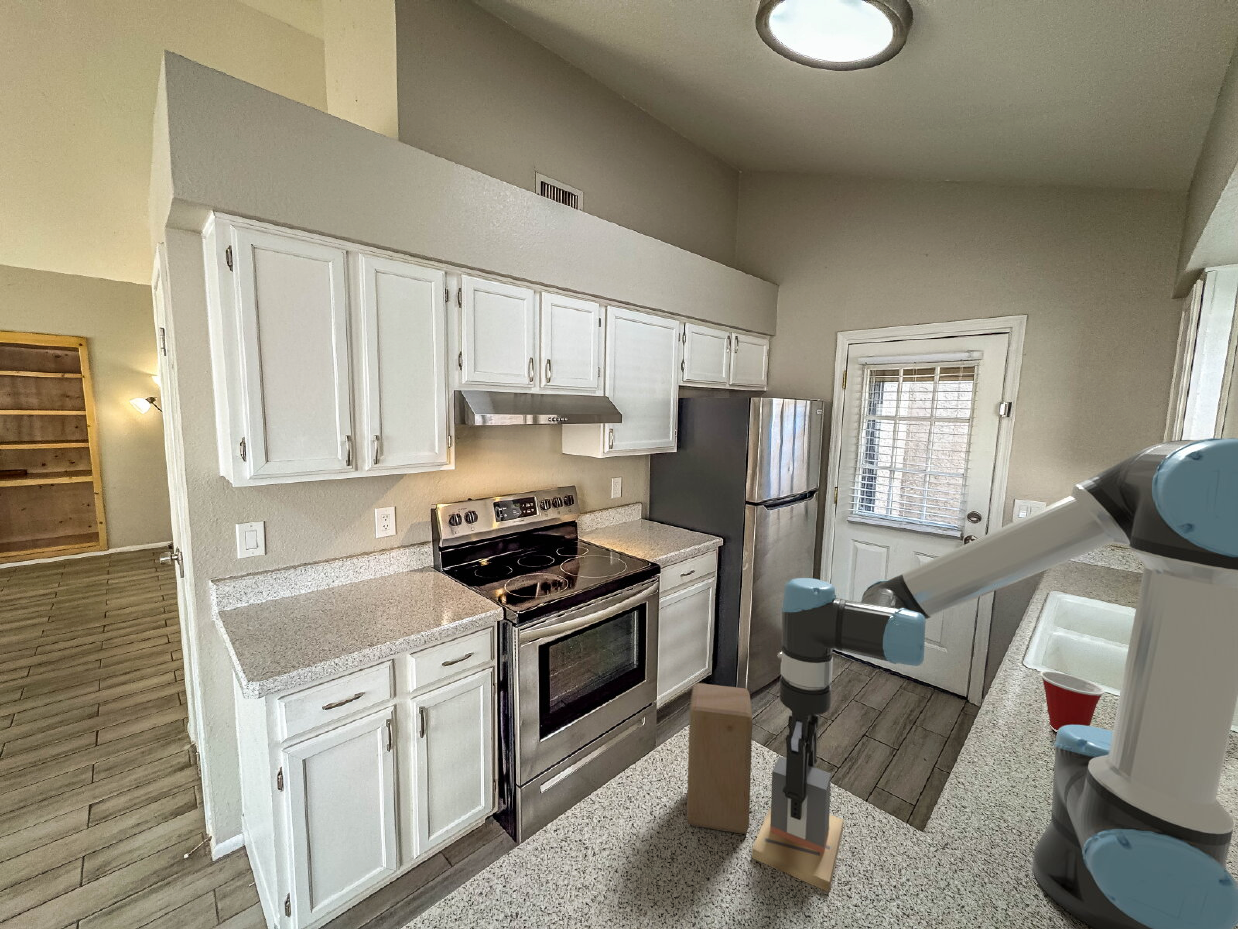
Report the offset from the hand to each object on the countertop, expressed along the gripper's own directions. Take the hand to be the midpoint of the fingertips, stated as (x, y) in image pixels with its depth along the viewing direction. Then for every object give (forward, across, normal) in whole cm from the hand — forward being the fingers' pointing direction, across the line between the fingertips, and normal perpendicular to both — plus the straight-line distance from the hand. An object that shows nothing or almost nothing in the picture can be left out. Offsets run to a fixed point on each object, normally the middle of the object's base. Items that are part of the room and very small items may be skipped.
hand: (800, 823), depth 80 cm
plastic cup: (+3, -65, +44) cm, 79 cm away
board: (+3, 0, 0) cm, 3 cm away
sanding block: (+2, 0, 0) cm, 2 cm away
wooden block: (+3, 0, -14) cm, 14 cm away
